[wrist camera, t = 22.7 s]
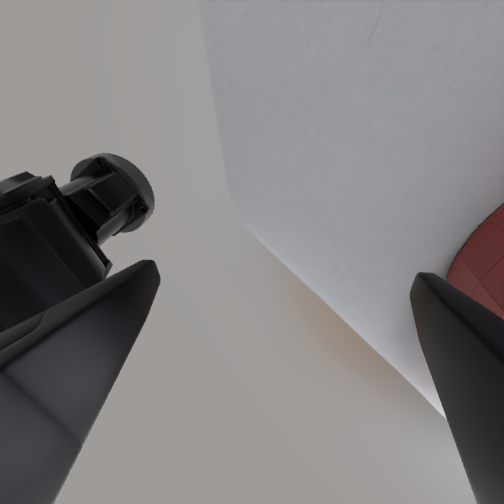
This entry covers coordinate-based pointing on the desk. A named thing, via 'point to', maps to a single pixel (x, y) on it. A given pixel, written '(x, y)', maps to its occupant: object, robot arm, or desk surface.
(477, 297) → the red round bowl
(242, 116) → the desk surface
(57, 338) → the robot arm
